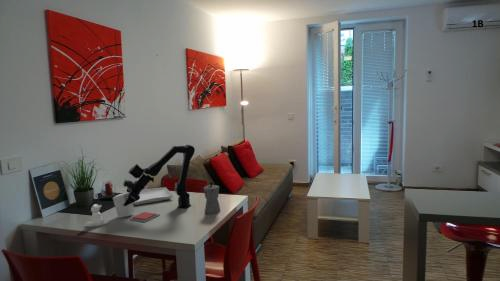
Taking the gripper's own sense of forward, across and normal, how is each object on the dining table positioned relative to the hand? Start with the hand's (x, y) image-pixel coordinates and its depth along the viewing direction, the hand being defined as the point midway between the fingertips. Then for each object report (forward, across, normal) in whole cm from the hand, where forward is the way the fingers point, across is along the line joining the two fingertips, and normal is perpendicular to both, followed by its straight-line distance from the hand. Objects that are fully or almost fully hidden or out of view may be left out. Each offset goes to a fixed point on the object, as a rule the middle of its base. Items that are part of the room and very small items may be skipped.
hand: (123, 203), depth 206 cm
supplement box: (+4, 0, +6) cm, 7 cm away
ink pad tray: (-2, +9, +13) cm, 16 cm away
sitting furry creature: (+16, +7, -4) cm, 18 cm away
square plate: (-8, -32, +19) cm, 38 cm away
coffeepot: (-30, +18, +39) cm, 53 cm away
